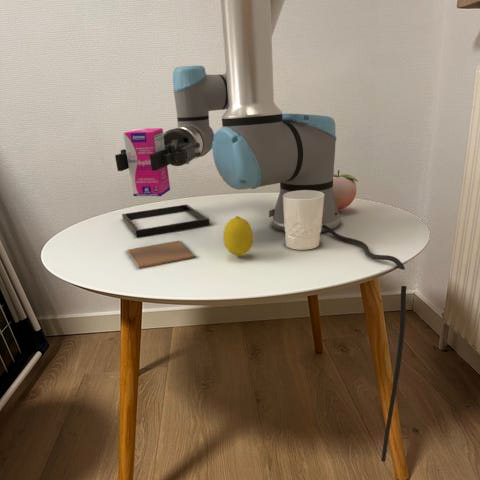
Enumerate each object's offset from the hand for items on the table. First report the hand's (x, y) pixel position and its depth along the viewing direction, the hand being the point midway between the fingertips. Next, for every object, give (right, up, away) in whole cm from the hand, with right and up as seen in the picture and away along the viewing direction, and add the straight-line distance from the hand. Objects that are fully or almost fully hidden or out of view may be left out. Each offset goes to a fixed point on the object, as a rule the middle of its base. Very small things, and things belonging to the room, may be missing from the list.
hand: (135, 162), depth 76 cm
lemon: (+18, -16, +6) cm, 25 cm away
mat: (+3, -15, +10) cm, 18 cm away
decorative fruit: (+43, -1, +31) cm, 53 cm away
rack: (0, -3, +31) cm, 31 cm away
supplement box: (+1, -3, +8) cm, 8 cm away
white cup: (+31, -13, +11) cm, 36 cm away
